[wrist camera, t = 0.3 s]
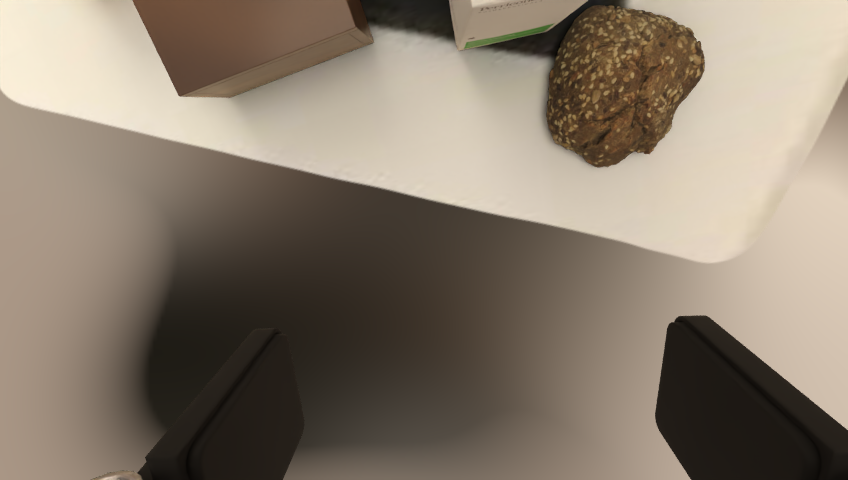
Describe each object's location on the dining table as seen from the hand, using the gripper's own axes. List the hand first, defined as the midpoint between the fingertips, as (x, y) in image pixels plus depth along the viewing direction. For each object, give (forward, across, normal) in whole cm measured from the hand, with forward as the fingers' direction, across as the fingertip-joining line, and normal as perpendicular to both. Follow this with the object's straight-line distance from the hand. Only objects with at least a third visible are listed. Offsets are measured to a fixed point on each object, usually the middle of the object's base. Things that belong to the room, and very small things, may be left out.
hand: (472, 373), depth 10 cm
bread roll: (+31, -14, -6) cm, 35 cm away
